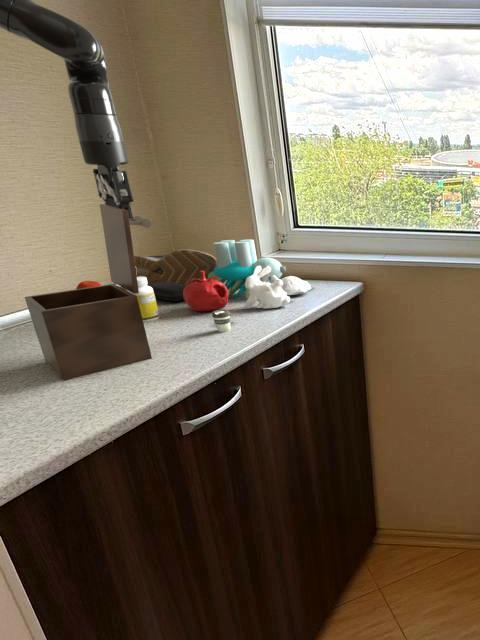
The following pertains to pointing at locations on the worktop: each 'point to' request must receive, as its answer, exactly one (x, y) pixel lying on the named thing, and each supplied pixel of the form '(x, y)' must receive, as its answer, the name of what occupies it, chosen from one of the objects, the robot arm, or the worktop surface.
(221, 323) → the grey ridged cylinder
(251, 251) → the toy
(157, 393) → the worktop surface
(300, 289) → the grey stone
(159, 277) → the athletic shoe
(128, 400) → the worktop surface
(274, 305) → the rabbit figurine
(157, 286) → the carrying case
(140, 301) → the supplement bottle
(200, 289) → the pomegranate
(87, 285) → the red rounded piece
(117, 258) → the lid
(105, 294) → the chest
